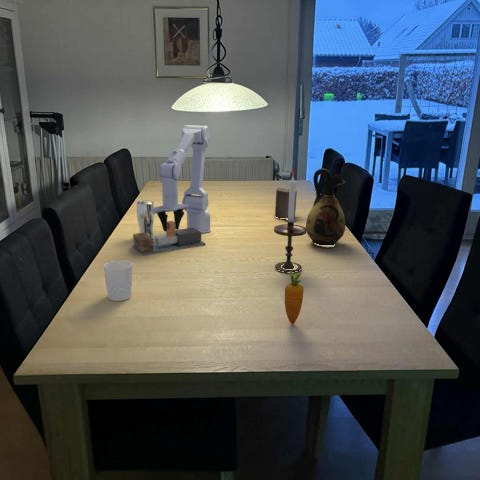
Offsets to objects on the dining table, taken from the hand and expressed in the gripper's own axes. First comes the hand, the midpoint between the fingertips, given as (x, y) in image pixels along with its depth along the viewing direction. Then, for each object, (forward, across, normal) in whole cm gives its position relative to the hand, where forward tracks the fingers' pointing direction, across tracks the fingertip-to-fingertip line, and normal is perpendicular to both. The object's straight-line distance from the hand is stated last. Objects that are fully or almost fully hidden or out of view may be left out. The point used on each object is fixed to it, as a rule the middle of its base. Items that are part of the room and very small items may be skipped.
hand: (170, 229), depth 193 cm
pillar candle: (+7, +65, +14) cm, 67 cm away
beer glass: (+7, -5, +13) cm, 15 cm away
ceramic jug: (+7, +54, -26) cm, 60 cm away
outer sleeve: (+6, -1, 0) cm, 6 cm away
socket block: (+6, -11, 0) cm, 13 cm away
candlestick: (+7, +25, -42) cm, 49 cm away
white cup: (+7, -33, -37) cm, 50 cm away
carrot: (+7, +1, -76) cm, 76 cm away
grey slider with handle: (+5, +2, 0) cm, 5 cm away
